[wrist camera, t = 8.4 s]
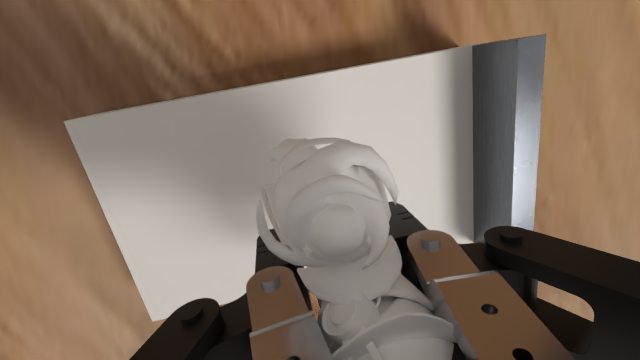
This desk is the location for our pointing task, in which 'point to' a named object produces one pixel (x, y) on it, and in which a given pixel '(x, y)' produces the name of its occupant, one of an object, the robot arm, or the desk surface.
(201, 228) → the shelf board
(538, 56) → the rail
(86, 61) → the desk surface
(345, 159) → the white toy figure
